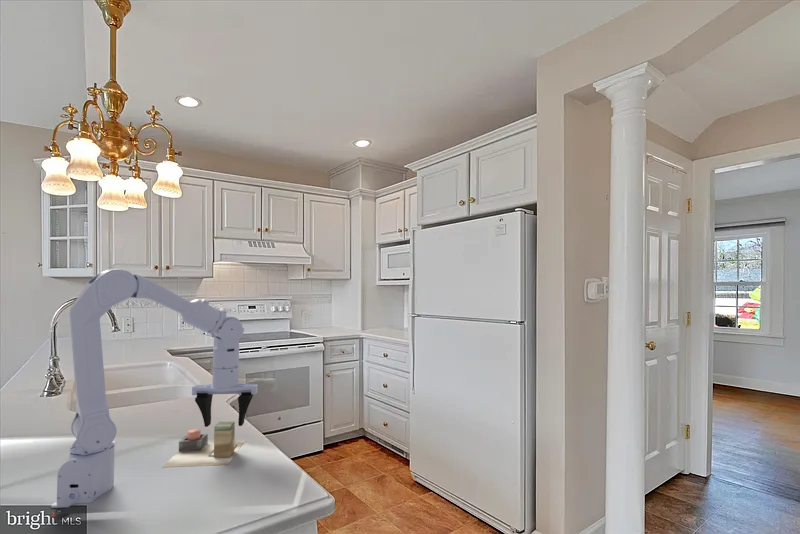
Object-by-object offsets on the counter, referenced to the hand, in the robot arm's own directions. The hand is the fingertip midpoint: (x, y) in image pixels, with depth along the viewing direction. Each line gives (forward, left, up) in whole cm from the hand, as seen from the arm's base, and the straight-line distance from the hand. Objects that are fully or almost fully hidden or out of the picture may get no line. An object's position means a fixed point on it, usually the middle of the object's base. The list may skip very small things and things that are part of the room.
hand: (224, 425), depth 103 cm
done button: (+6, +9, -6) cm, 12 cm away
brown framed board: (+2, +4, -8) cm, 9 cm away
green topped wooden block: (0, 0, -7) cm, 7 cm away
